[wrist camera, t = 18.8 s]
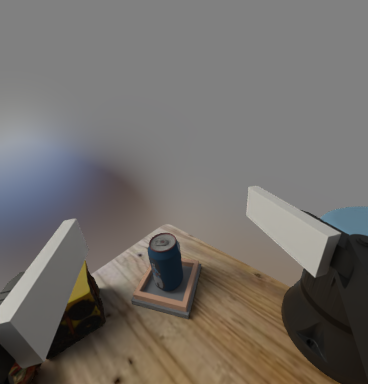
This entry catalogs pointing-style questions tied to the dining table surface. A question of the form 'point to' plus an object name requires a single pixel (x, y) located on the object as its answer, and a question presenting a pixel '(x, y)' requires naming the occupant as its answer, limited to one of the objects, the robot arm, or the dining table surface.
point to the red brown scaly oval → (23, 373)
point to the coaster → (169, 300)
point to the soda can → (165, 261)
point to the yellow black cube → (79, 314)
